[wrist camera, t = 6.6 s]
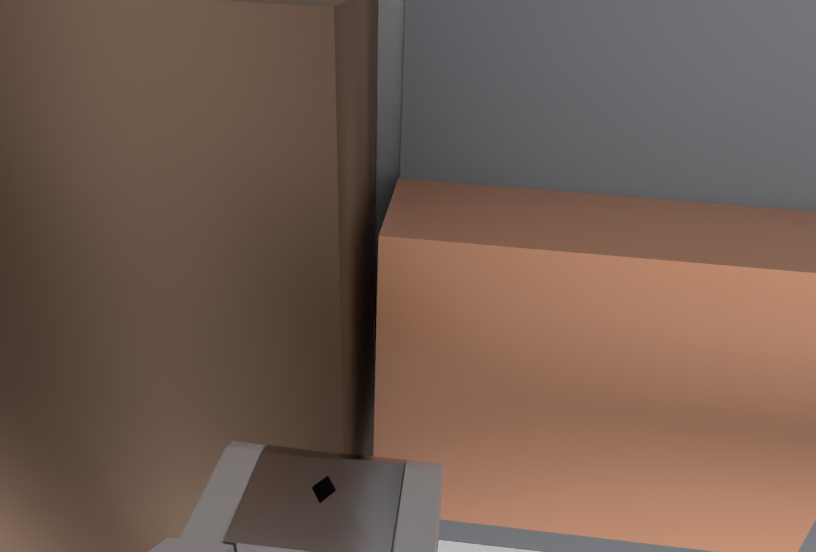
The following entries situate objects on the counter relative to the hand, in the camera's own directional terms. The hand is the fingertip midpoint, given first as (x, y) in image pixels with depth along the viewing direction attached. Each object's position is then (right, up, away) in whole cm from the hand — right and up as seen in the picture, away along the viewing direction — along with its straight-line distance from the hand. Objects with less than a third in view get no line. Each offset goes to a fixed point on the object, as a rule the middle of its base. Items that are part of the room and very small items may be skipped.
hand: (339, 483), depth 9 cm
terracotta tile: (+5, +2, +4) cm, 6 cm away
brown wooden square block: (-6, +3, +5) cm, 8 cm away
